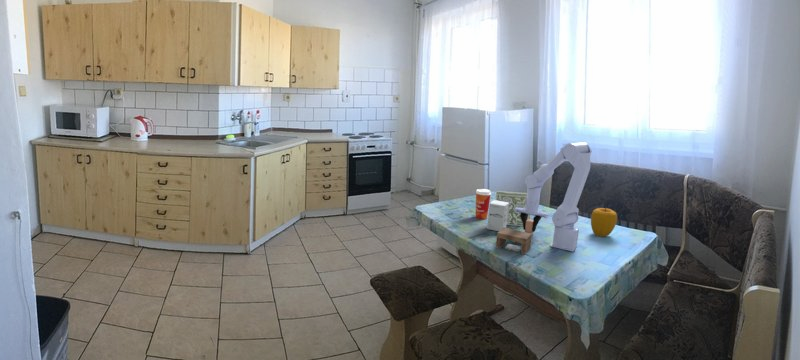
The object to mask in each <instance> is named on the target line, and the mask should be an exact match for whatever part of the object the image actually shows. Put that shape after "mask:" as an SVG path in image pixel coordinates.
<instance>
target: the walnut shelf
mask: <svg viewBox="0 0 800 360" xmlns="http://www.w3.org/2000/svg"><path fill="white" fill-rule="evenodd" d="M532 238H533V234H531V233H526V232H525V231H521V230H517V229H512V228H507V227H506V228H503V229H502V230H500V231H497V234H496V243H495V248H496V249H501V248H502V247H503V246H505V244H506V243H507V241H511V242H514V241H515V242H519V243H522V244H521V252H520V254H521V255H526V254H527V253H528V252H529V251H530V250H531V248H532V247H531V246H532Z"/></svg>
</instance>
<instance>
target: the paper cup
mask: <svg viewBox="0 0 800 360" xmlns="http://www.w3.org/2000/svg"><path fill="white" fill-rule="evenodd" d="M491 195H492V192H491V190H490V189H487V188H486V189H485V188H479V189H478V188H477V189H476V191H475V219H478V220H483V221H484V220H488V215H489V206H490V203H491V202H490V201H491Z"/></svg>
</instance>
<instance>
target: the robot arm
mask: <svg viewBox="0 0 800 360" xmlns="http://www.w3.org/2000/svg"><path fill="white" fill-rule="evenodd" d="M591 155H592V149H591V147H590V145H589V144H588V143H587V142H584V141H583V142H581V141H580V142H574V143H573V142H568V143H566V144H565V145H563V147H561V148H560V151H558V153H556V154H555V155H554V157H553V158H552V159H551V160H550V161H549V162H548V163H544V164H541V165H539V168H538V169H537V170H536V171H534V172H533V174H529V175H527V176H526V178H525V181H524V182H525V185H526V187H527V188H526V196H525V197H526V198H525V206H524V207H523V208H522V207H515V208H514V213H518V214H520V215H519V217H520V220H521V221H522V227H523V230H524V231H525V226H526V220H528V219H529V218H528V217H529V215H530V216H534V217H533V219H532V220H533V230H532V232H533V233H535V232H536V228H537V226H538V224H539V222H540V220H541V219H542V218H544V219H549V213H548V212H544V211H541V210H539V206H540V199H541V198H540V197H541V191H542V190H543V189H542V188H543V187H544V186H545V182H546V181H547V180H548V179H550V178H551V177H552V175H554V174H555V171H554V170H555V169H556V168H558V167H559V166H560V165H561V164H563V163H564V162H566V161H568V163H570V164H571V165H572V167H573V172H572V174H571V175H572V176H571V178H570V181H569V184H568V187H567V190H566V192H565V195H564V198H563V201H562V203H561V204H560V205H559V206H558V207H557V208H556V211H554V213H553V214H552V216H551V218H552V219H551V220H552V223H553V225H554V232H553V239H552V242H551V243H550V244H549V246H550V247H552V248H556V249H560V250H565V251H570V252H574V251H575V250H576V248H577V246H578V238H579V233H580V230H579V228H576V227H575V224H576V223H578V221H579V212H580V209H579V208H578V207H577V206H578V203H579V200H580V197H581V195H582V193H583V189H584V187H585V185H586V181H587V178H588V177H589V173H590V170H591Z"/></svg>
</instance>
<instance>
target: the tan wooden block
mask: <svg viewBox="0 0 800 360" xmlns="http://www.w3.org/2000/svg"><path fill="white" fill-rule="evenodd" d="M532 230H533V219H529V218H527V220H526V226H525V230H524V232H526V233H531V234H532V235H533V234H534V232H532ZM513 242H514V244H516V245H522V243H519V242H515V241H513Z"/></svg>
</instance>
